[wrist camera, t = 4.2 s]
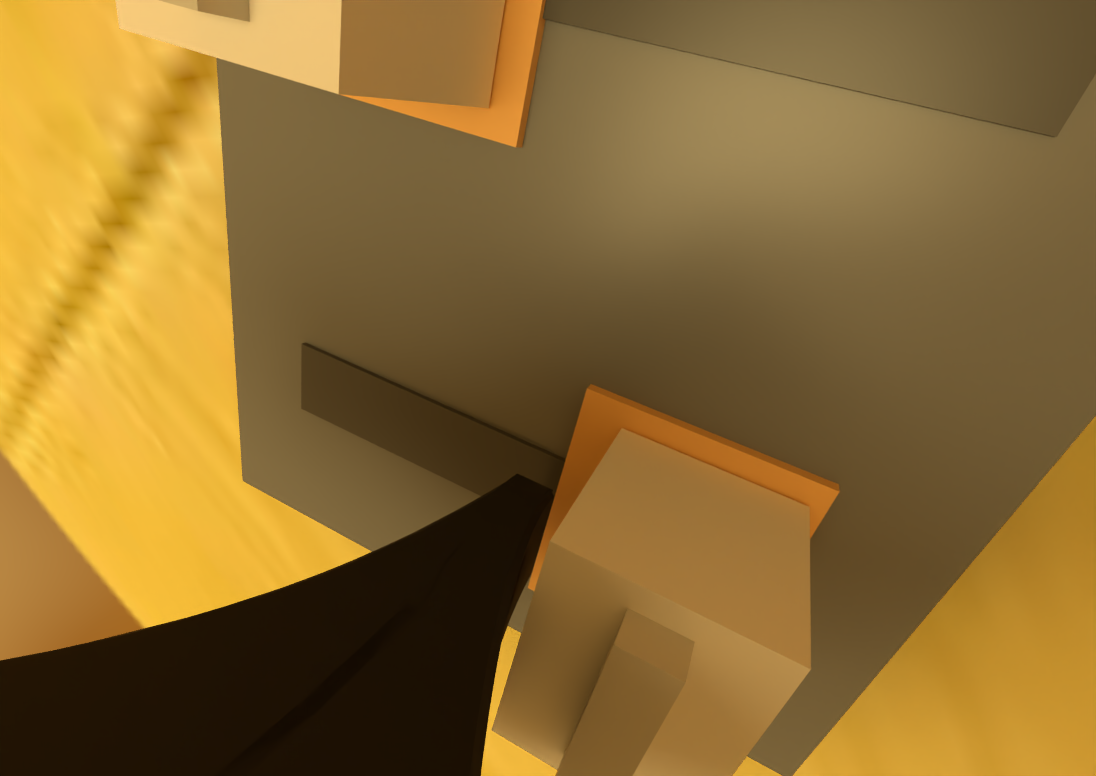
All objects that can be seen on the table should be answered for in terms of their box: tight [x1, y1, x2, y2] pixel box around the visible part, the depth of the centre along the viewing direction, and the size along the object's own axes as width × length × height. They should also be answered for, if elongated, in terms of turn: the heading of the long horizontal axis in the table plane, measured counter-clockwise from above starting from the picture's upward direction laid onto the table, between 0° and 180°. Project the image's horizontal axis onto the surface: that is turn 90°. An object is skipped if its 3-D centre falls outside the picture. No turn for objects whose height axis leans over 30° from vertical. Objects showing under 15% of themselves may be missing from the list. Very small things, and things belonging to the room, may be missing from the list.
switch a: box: [492, 428, 811, 776], centre depth 8 cm, size 3×4×4 cm
